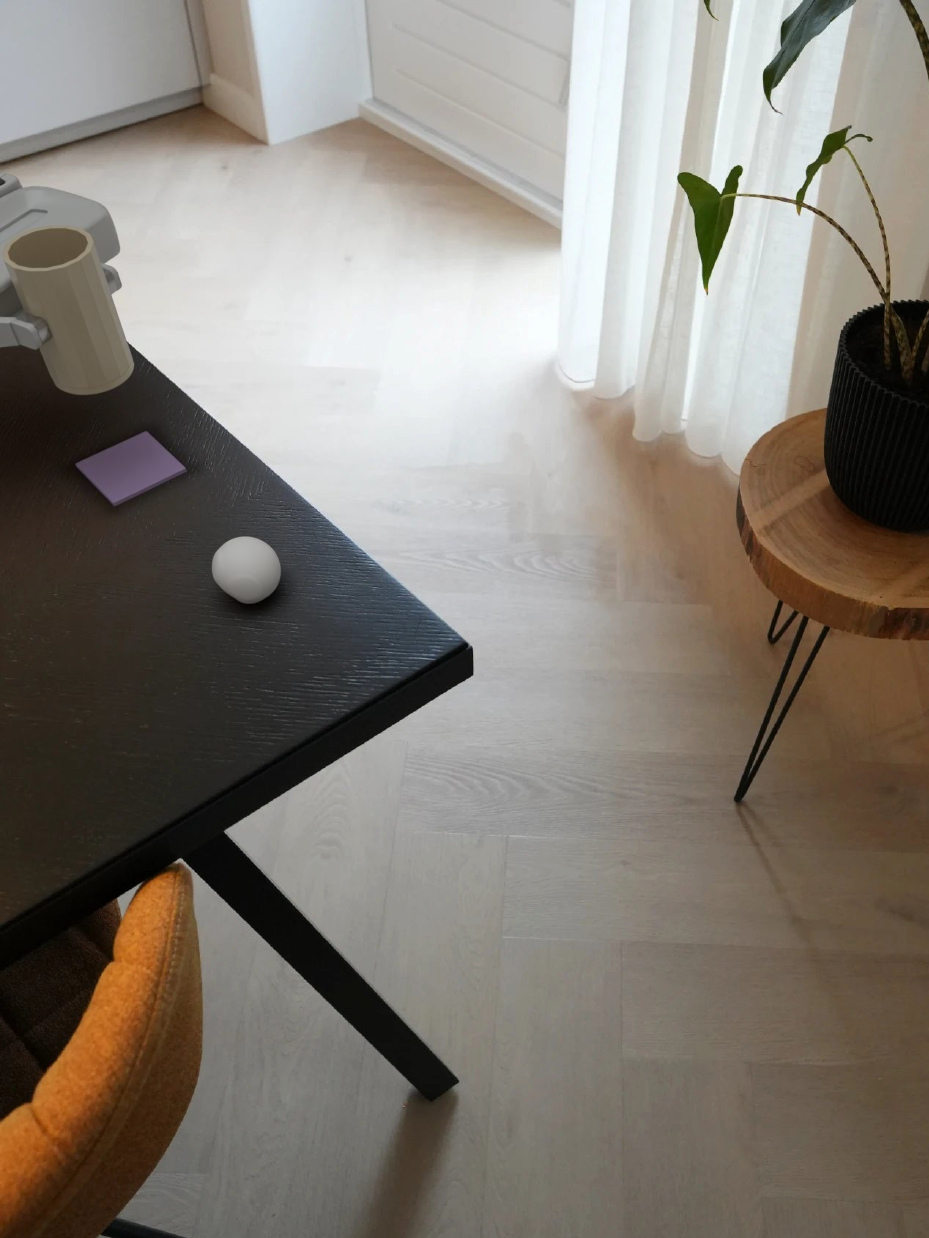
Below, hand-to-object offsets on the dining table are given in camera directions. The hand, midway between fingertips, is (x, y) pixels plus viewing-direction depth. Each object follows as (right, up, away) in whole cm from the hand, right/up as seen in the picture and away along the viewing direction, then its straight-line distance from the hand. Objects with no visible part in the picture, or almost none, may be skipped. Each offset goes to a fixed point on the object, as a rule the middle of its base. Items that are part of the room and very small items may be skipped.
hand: (79, 308), depth 82 cm
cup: (-1, -3, +5) cm, 6 cm away
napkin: (-1, -9, +13) cm, 16 cm away
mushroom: (+11, -20, +4) cm, 24 cm away
